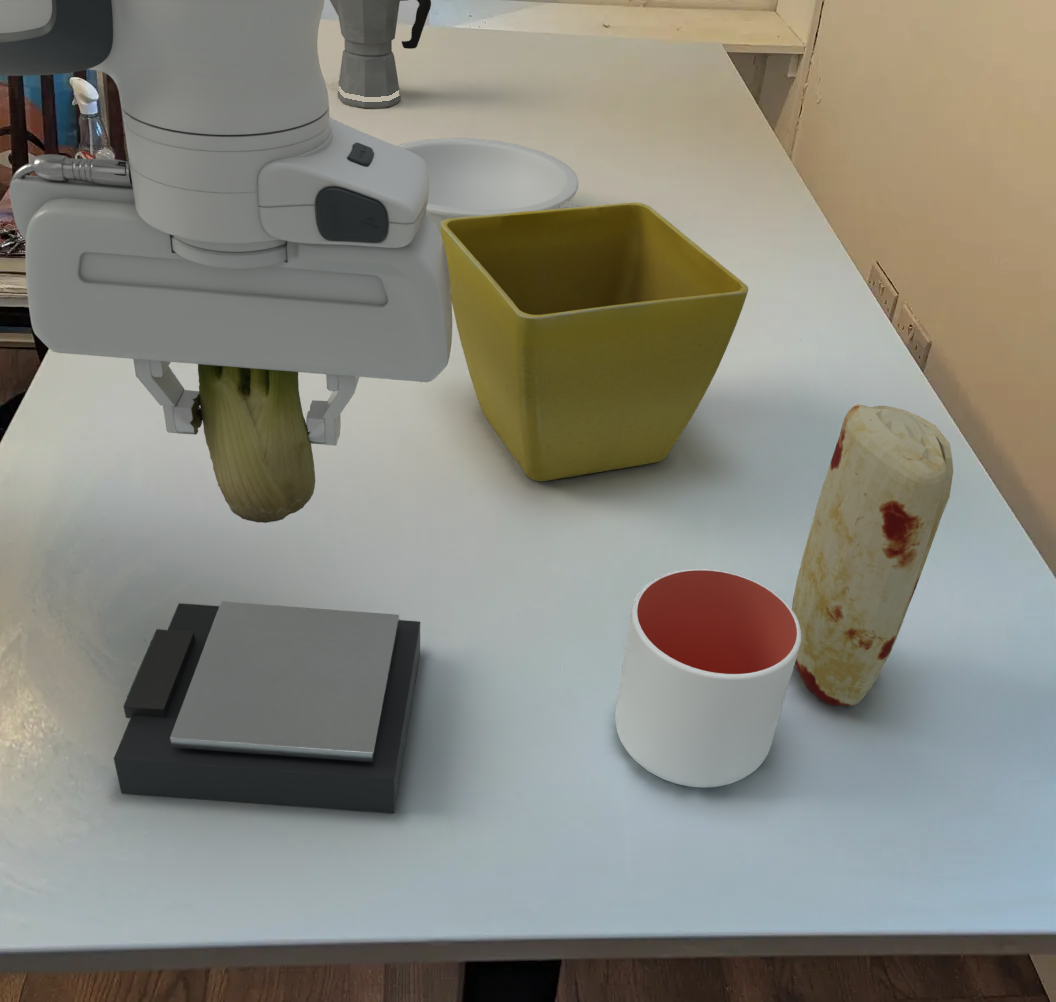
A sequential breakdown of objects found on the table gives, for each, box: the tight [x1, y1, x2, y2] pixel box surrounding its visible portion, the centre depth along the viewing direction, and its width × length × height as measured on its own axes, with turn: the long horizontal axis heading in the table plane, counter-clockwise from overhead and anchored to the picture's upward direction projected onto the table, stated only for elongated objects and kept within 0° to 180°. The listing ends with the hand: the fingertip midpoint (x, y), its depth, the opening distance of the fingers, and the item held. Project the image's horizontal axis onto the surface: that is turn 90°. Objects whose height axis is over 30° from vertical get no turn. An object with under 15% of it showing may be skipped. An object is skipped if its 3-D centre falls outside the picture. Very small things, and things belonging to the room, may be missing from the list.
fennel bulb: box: [197, 364, 316, 524], centre depth 61 cm, size 6×5×12 cm
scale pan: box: [170, 600, 400, 762], centre depth 72 cm, size 12×12×1 cm
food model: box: [791, 403, 954, 707], centre depth 75 cm, size 10×7×20 cm
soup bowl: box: [396, 137, 579, 234], centre depth 135 cm, size 24×24×7 cm
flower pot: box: [440, 202, 749, 482], centre depth 98 cm, size 19×19×17 cm
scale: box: [113, 602, 421, 814], centre depth 73 cm, size 16×14×4 cm
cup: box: [614, 568, 801, 788], centre depth 73 cm, size 10×10×10 cm
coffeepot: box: [329, 0, 432, 110], centre depth 167 cm, size 15×9×18 cm, turn 88°
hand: (256, 434), depth 62 cm, fingers closed on fennel bulb, 6 cm apart
